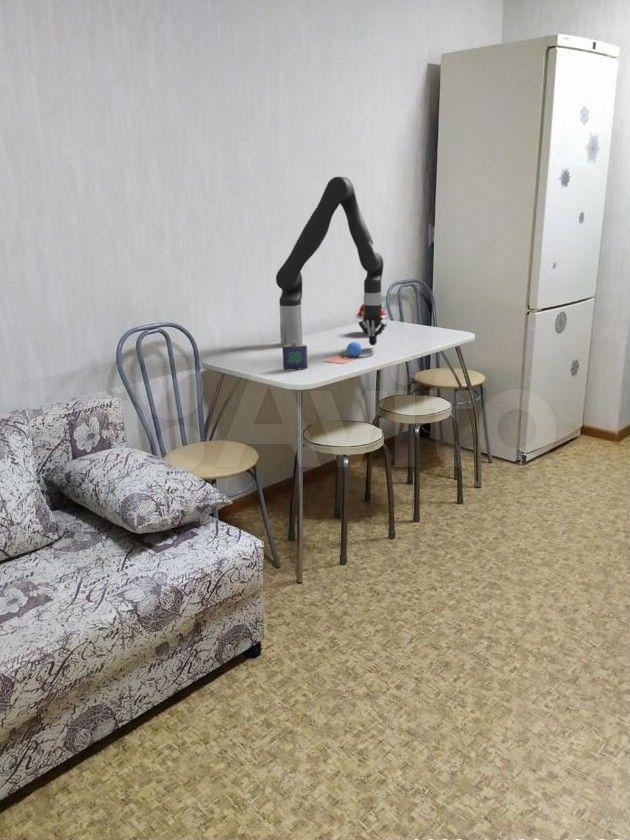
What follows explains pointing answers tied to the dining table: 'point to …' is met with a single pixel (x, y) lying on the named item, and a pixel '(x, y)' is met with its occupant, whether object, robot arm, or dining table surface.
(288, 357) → the flask
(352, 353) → the ball
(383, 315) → the decorative mushroom
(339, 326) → the dining table surface
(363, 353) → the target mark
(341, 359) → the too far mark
